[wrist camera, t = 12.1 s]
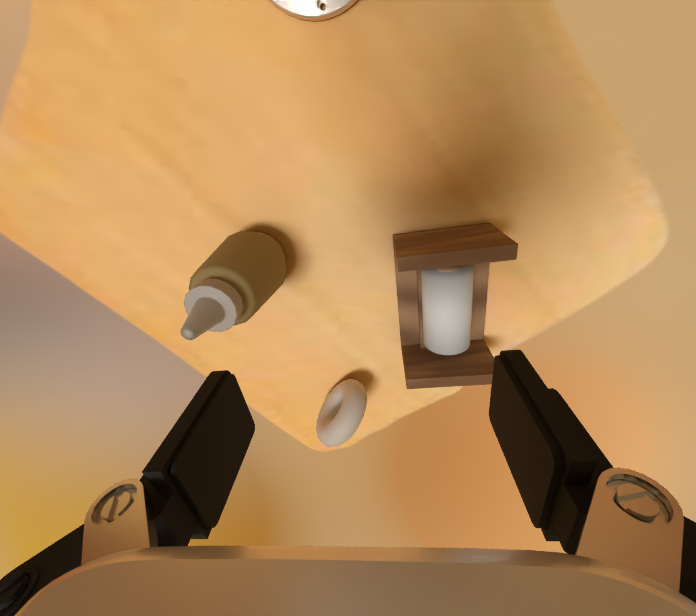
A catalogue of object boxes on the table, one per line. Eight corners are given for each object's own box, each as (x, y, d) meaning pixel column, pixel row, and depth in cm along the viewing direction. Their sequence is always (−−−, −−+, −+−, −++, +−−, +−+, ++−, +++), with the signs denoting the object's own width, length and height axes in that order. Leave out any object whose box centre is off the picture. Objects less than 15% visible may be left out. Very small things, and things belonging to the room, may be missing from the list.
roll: (417, 260, 37) (425, 279, 32) (466, 255, 36) (481, 273, 31) (420, 332, 42) (427, 357, 37) (463, 328, 41) (475, 354, 36)
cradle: (392, 234, 37) (397, 257, 30) (489, 222, 35) (517, 243, 28) (401, 349, 45) (406, 388, 38) (480, 343, 43) (501, 383, 36)
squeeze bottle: (297, 231, 37) (243, 299, 22) (289, 289, 41) (238, 383, 26) (231, 215, 37) (127, 273, 21) (229, 276, 41) (141, 362, 25)
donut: (334, 408, 52) (326, 464, 43) (317, 398, 51) (305, 453, 42) (372, 374, 47) (372, 427, 39) (354, 362, 46) (350, 414, 38)
